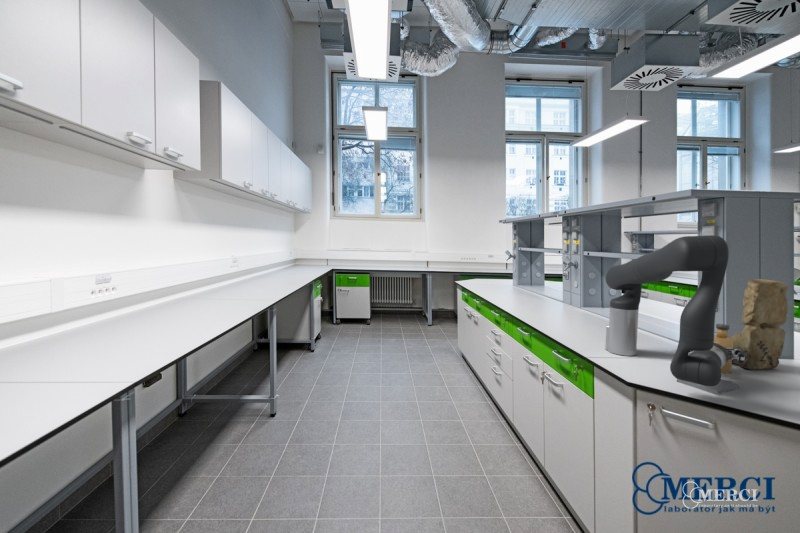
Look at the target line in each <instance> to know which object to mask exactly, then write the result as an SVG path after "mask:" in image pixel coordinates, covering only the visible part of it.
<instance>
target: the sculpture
mask: <svg viewBox="0 0 800 533" xmlns="http://www.w3.org/2000/svg"><path fill="white" fill-rule="evenodd" d="M788 288H789V284H788V283H786V282H782V281H778V280H774V279H773V280H772V279H763V278H759V279H758V278H754V279H749V280H748V282H747V287H746V288H745V289H744V292H743V294H744V295H743V296H744V298H743V299H742V308H743V309H742V310H743V311H742V313H741V322H742V324H743V325H744V327H743V328H742V330H741V331H740V332H739V333H735V334H733V335H732V336H731V338H733V349H735V348H736V347H740V349H742V351H748V360H747V361H746V362H744V363H740V362H738V361H737V359H732V364H736V365H737V366H739V367H740V368H744V369H746V370H751V371H752V370H753V371H754V370H760V371H761V370H773V369H776V368H777V367H778V365H779V364H780V360H779V359H780V357H781V356H782V354H783V353H782V352H783V350H784V344H785V339H786V331H785V330H784V329H782V328H781V326H782V325H784V324H786V322H787V320H788V317H787V314H788V311H789V309H788V308H789V307H788V298H787V296H786V294H787V291H788ZM734 355H735V352H734Z"/></svg>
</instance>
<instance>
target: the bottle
mask: <svg viewBox="0 0 800 533" xmlns="http://www.w3.org/2000/svg"><path fill="white" fill-rule="evenodd" d="M715 328H716V334H714V343H717V344H719V345H721V346H723V347H730V348H733V338H732V336H728V332H729V330H730V325H729V324H725V323H716V324H715ZM727 351H728V350H727ZM732 365H733V363H732V359H731V360H728V362H727V363H726V364H725V365H724V366H723V367H722V368H721V372H722V373H723V374H731V373H732Z"/></svg>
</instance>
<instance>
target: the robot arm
mask: <svg viewBox="0 0 800 533" xmlns="http://www.w3.org/2000/svg"><path fill="white" fill-rule="evenodd" d="M729 254H730V251H729V245H728V243H727V241H726V240H725V239H724V238H723V237H721V236H719V235H714V234H711V235H693V236H692V235H688V236H686V235H685V236H680V237H677V238H675V239H673V240H672V241H671V242H668V243H667V244H666V245H664V246H662V247H661V248H660V249H657V250H653V251H652V252H649V253H646V254H643V255H640V256H639V257H637V258H634V259H632V260H630V261H627V262H625V263H621V264H617V265H613V266H611V267H610V268H609V269H607V272H606V273H605V284H606V285H607V286H608V288H610V289H612V290H616V291H625V293H624V294H622V295H620V296H618V297H614V298H611V300H610V301H609V322H608V325H606V327H605V328H606V329H605V330H606V331H605V350H606V351H608V352H609V353H612V354H615V355H618V356H627V357H629V356H630V357H631V356H633V357H634V356H636V355H637V348H638V346H637V344H638V329H639V311H640V310H639V309H640V303H641V296H642V288H643V284H645V285H646V284H653V283H659V282H661V281H665V280H667V279H668V278H669V277H671V276H672V274H673V272H674V273H675V272H701V279H700V282H699V285H698V287H697V289H696V291H695V292H694V294H693V295H692V297H691V298H690V299H689V301H688V302H687V304H686V305H685V306H684V308H683V309H682V312H681V315H680V319H679V340H678V344H677V348H676V350H675V353H674V355H673V357H672V359H671V361H670V362H671V363H670V365H669V366H670V368H669V369H670V372H671V374H672V376H673V377H674V378H675V379H676V380H677V379H679V380H683V381H688V382H692V383H696V384H700V385H704V386H715V385H717V384H718V383H719V382H720V380H721V379H722V377H723V376H722V375H723V374H722V372H721V368H722V367H723V366H724V365H725V364H726V363H727V362H728V360H731V359H737V361H738V362H740V363H744V362H746V361H747V360H748V351H742V349H740V347H736V348H735V349H733V348H730V347H723V346H721V345H719V344H717V343H714V335H715V327H716V324H715V322H716V321H715V320H716V313H717V312H716V311H717V307H718V303H719V299H720V295H721V292H722V288H723V284H724V279H725V275H726V270H727V267H728V263H729V257H730V256H729ZM727 350H728V351H727ZM734 352H735V355H734Z"/></svg>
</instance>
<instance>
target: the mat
mask: <svg viewBox="0 0 800 533" xmlns="http://www.w3.org/2000/svg"><path fill="white" fill-rule="evenodd" d="M676 382H677V383H681V384H683V385H687V386H690V387H693V388H695V389H698V390H701V391H704V392H708V393H711V394H714V395H718V396H719V395H720V394H723V393H727V392H729V391H733V390H736V389H739V388H740V387H741V384H740V383H737V382H733V381H732V380H727V379H723V378H721V380H720V382H719V383H718V384H717V385H715V386H704V385H700V384H696V383H692V382H688V381H683V380H679V379H677V378H676Z"/></svg>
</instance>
